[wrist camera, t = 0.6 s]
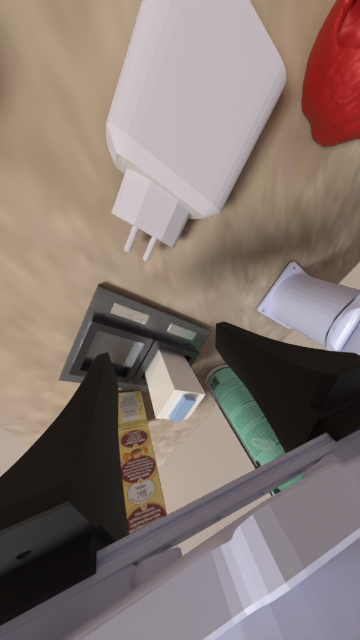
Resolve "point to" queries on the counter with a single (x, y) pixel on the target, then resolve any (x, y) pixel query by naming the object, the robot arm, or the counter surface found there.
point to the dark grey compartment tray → (129, 338)
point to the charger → (189, 111)
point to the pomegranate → (335, 77)
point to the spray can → (246, 419)
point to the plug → (172, 386)
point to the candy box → (138, 464)
